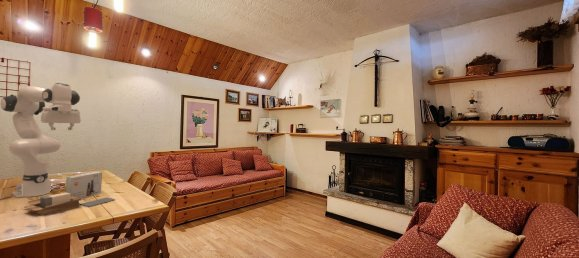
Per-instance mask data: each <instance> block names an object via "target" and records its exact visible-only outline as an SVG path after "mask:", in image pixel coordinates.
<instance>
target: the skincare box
mask: <svg viewBox="0 0 579 258" xmlns="http://www.w3.org/2000/svg"><path fill="white" fill-rule="evenodd" d="M102 179H103V172H102V171H93V172H86V173H81V174H75V175H71V176H70V175H69V176H66V180H65V181H66V183H65V192H66V193H70V197H72V196H73V197H77V198H82V199H84V198H88V197H89V198H90V197H92V196H95V195H99V194H102V183H103V182H102V181H103V180H102Z"/></svg>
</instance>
